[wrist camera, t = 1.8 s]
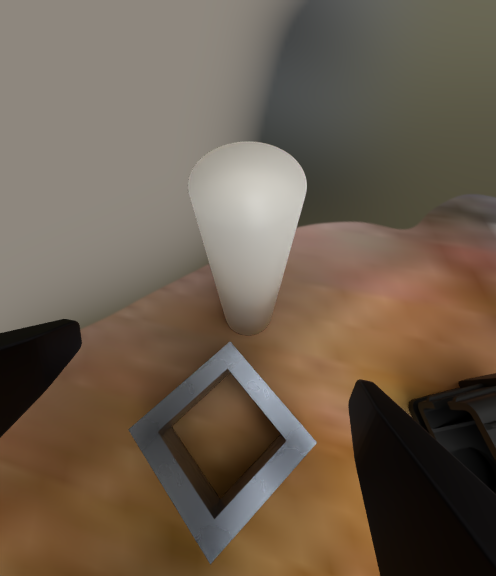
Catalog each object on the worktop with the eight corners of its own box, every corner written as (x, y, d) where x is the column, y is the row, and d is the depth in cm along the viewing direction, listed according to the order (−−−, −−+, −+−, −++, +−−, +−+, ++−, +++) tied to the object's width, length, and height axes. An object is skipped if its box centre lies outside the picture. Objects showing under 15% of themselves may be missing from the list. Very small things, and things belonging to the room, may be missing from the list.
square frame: (217, 535, 16) (210, 564, 13) (146, 424, 18) (128, 429, 15) (306, 435, 18) (316, 442, 15) (232, 349, 20) (229, 341, 17)
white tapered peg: (246, 345, 20) (241, 253, 7) (215, 310, 21) (164, 178, 9) (281, 313, 21) (331, 185, 8) (250, 281, 22) (251, 126, 10)
